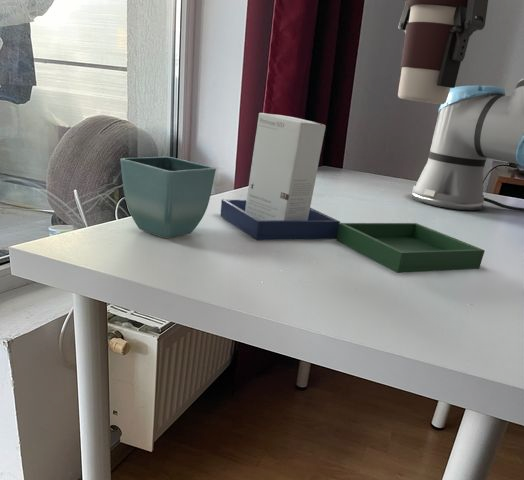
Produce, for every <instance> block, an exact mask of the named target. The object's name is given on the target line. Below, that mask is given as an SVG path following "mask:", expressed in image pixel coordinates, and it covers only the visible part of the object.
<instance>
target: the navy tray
mask: <svg viewBox="0 0 524 480" xmlns="http://www.w3.org/2000/svg"><path fill="white" fill-rule="evenodd" d="M246 200H247V199H225V198H223V199H221V205H220V217H221V218H223V219H224V220H225V221H227V222H229V223H230V224H231V225H233V226H234V227H236V228H237V229H239V230H241V231H242V232H243V233H245V234H246V235H248V236H250V237H251V238H252V239H254V240H256V241H293V240H295V241H296V240H297V241H298V240H337V235H338V229H339V223H341V221H340V220H338V219H337V218H334V217H332V216H330V215H327V214H325V213H323V212H321V211H319V210H317V209H315V208H312V207H310V211H309V216H308V221H303V220H259V219H257V218H256V217H254V216H252V215H250V214H249V213H247V212H245V208H246Z"/></svg>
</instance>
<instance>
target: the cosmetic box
mask: <svg viewBox="0 0 524 480" xmlns="http://www.w3.org/2000/svg"><path fill="white" fill-rule="evenodd" d="M326 127H327V125H325V124H323V123H319V122H316V121H312V120H307V119H303V118H300V117H294V116H289V115H283V114H274V113H266V112H259V113H258V117H257V125H256V130H255V131H256V132H255V139H254V145H253V153H252V161H251V165H250V166H251V167H250V173H249V180H248V187H247V194H246V199H245V200H246V208H245V212H247V213H249V214H250V215H252V216H254V217H256V218H257V219H259V220H303V221H308V216H309V211H310V208H311V205H312V200H313V194H314V189H315V185H316V179H317V174H318V168H319V163H320V158H321V153H322V147H323V142H324V137H325V132H326Z"/></svg>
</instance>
